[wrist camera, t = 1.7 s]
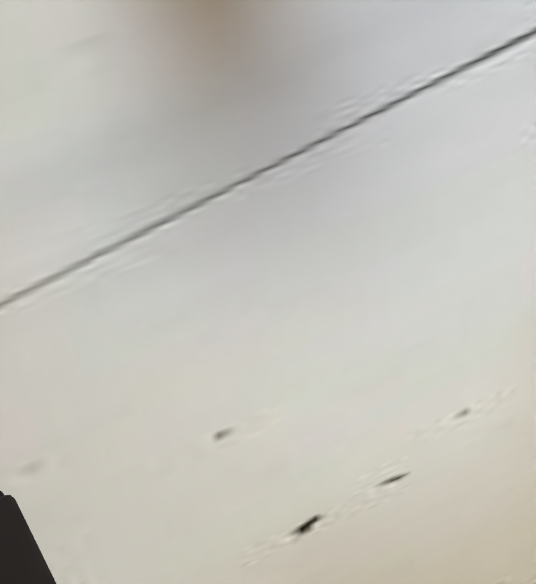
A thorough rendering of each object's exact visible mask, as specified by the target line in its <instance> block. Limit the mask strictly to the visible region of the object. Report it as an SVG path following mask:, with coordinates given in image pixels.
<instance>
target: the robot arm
mask: <svg viewBox="0 0 536 584" xmlns="http://www.w3.org/2000/svg"><path fill="white" fill-rule="evenodd" d="M0 584H56V582H55V580H54V578H53V576H52V574H51V572H50V570H49V568H48V566H47V564H46V562H45V560H44V558H43V555H42V553H41V551H40V549H39V547H38V545H37V543H36V541H35V539H34V537H33V535H32V533H31V531H30V529H29V527H28V525H27V523H26V521H25V519H24V517H23V514H22V512H21V510H20V508H19V506H18V504H17V502H16V500H15V499H14V498H13V497H12V496H11V495H4V494H3V492H1V491H0Z"/></svg>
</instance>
